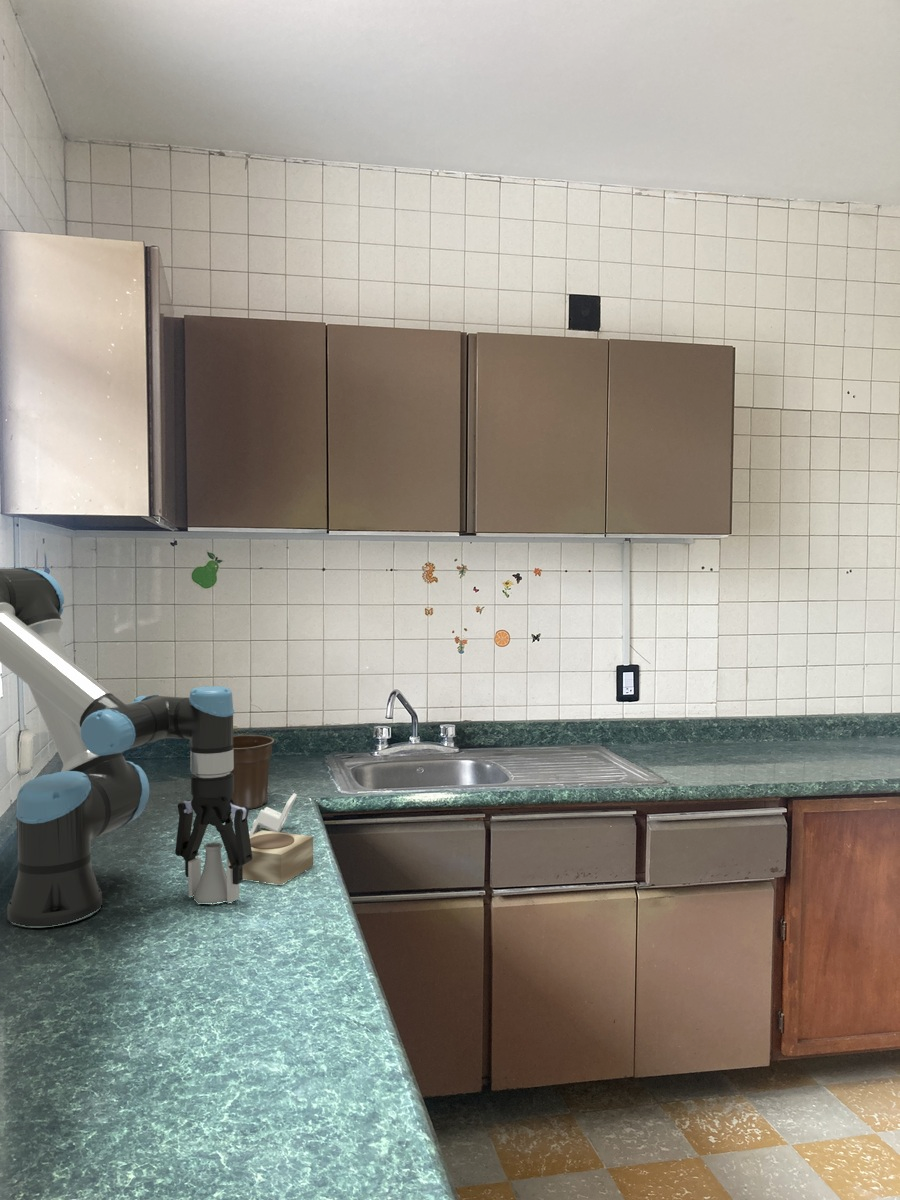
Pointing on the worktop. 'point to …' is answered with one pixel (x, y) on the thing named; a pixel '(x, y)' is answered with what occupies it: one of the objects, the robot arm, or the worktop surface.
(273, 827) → the mounting bracket
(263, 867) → the wooden stand
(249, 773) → the plant pot
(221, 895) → the flask
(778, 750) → the worktop surface
